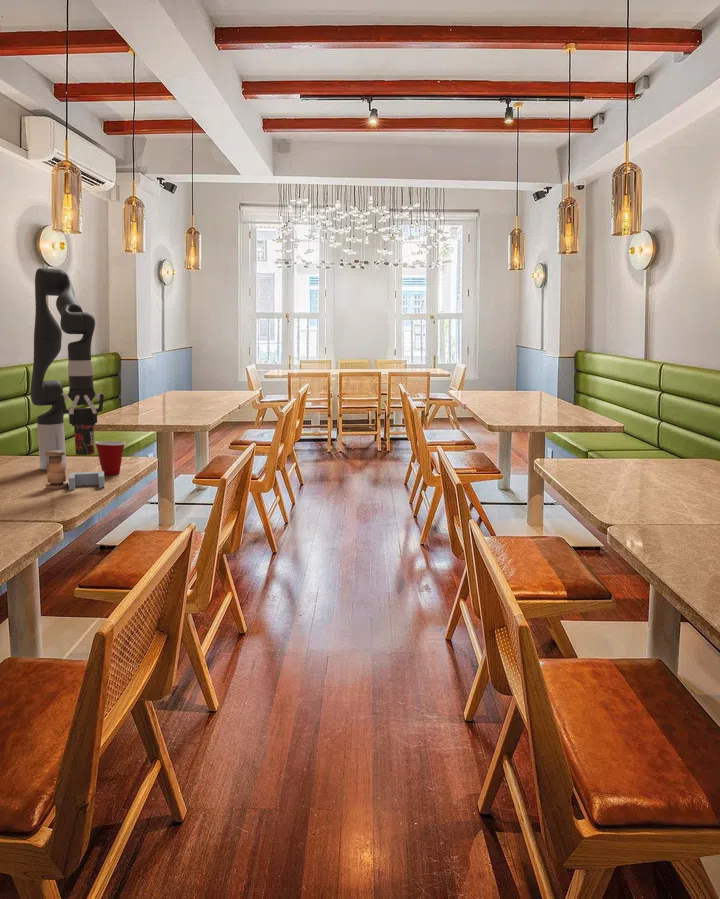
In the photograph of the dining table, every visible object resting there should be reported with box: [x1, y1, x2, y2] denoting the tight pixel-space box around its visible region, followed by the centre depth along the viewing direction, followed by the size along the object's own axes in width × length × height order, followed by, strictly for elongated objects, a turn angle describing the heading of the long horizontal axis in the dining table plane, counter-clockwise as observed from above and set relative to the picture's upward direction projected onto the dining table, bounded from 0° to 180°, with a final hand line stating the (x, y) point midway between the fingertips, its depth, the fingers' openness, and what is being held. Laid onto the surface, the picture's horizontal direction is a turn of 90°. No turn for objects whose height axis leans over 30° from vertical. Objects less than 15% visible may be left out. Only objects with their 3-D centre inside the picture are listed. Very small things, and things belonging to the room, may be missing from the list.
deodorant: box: [73, 407, 96, 456], centre depth 247 cm, size 6×6×15 cm
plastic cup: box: [94, 440, 127, 476], centre depth 272 cm, size 11×11×12 cm
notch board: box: [67, 470, 106, 491], centre depth 251 cm, size 9×11×4 cm
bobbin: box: [45, 450, 69, 490], centre depth 249 cm, size 7×7×12 cm
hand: (83, 425), depth 247 cm, fingers closed on deodorant, 6 cm apart
